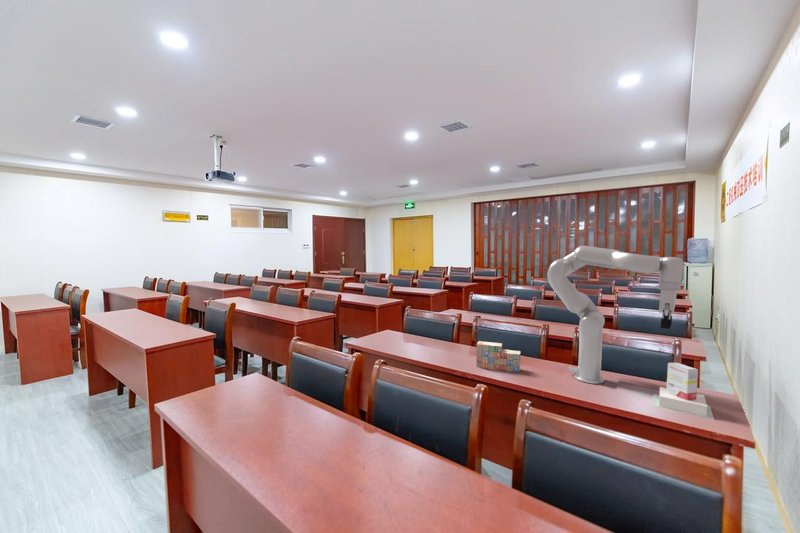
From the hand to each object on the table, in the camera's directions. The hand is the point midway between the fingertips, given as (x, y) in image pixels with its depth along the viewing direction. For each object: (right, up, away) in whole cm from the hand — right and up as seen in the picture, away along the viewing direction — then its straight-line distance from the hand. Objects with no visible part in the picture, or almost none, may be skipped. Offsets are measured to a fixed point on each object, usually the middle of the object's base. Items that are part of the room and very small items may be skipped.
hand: (666, 326), depth 151 cm
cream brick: (-3, -29, -12) cm, 32 cm away
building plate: (-3, -30, -12) cm, 33 cm away
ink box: (-3, -25, -12) cm, 28 cm away
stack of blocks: (-63, -27, +32) cm, 75 cm away
